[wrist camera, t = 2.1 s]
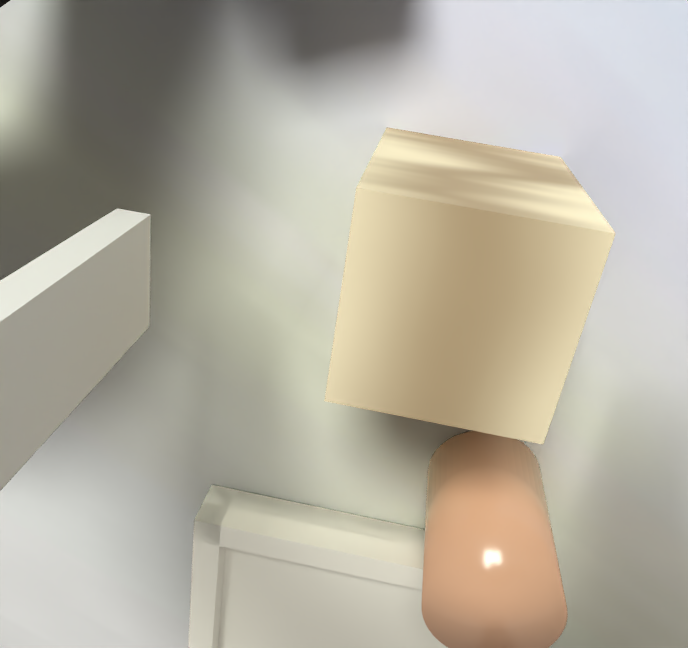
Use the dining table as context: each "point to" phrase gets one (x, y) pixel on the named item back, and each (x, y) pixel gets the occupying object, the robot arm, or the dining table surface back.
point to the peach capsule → (489, 547)
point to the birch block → (465, 285)
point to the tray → (303, 577)
